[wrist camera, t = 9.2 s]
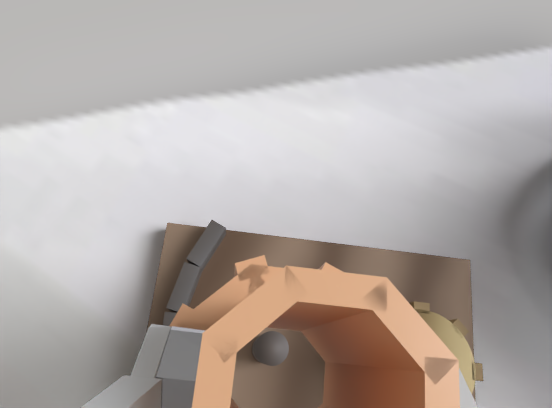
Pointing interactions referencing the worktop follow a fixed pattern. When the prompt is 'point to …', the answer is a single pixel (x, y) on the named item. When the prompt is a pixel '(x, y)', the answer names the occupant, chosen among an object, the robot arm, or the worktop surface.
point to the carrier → (293, 344)
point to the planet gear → (325, 336)
